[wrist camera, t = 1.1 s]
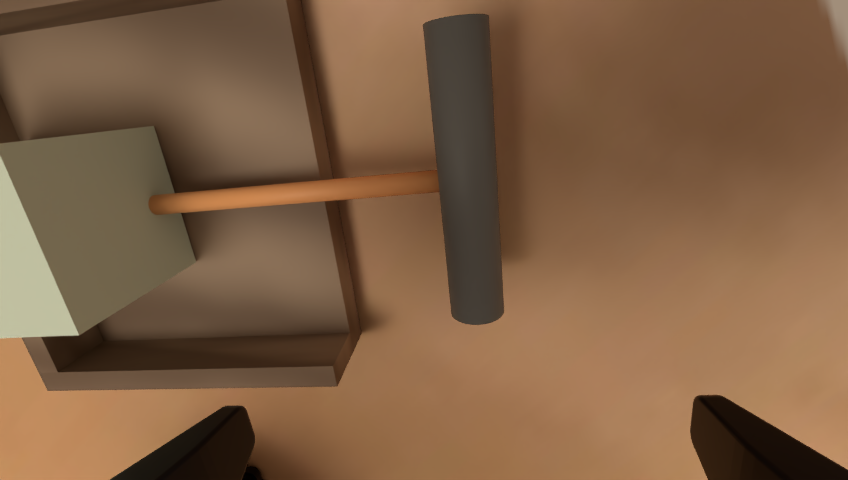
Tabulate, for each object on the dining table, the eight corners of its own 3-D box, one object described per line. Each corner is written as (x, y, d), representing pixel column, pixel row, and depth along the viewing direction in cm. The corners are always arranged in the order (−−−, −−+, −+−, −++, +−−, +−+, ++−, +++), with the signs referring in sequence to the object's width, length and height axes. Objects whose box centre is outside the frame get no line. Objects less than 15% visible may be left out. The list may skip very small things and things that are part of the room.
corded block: (500, 287, 18) (513, 380, 12) (96, 306, 20) (-47, 389, 15) (487, 25, 14) (495, -15, 9) (7, 90, 17) (-221, 91, 12)
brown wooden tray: (361, 333, 21) (337, 386, 17) (116, 341, 23) (47, 390, 19) (295, -31, 16) (240, -68, 12) (-14, 20, 18) (-143, 2, 14)
